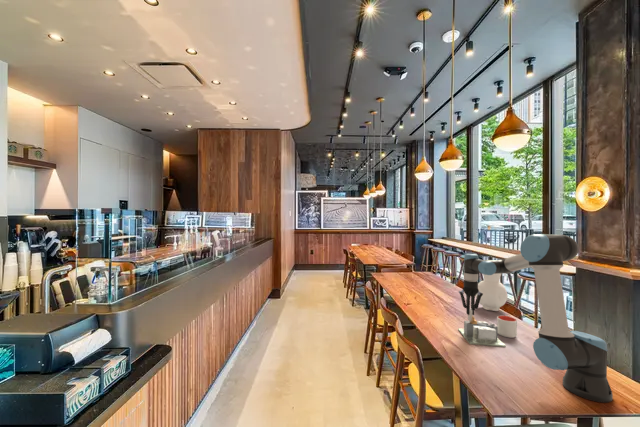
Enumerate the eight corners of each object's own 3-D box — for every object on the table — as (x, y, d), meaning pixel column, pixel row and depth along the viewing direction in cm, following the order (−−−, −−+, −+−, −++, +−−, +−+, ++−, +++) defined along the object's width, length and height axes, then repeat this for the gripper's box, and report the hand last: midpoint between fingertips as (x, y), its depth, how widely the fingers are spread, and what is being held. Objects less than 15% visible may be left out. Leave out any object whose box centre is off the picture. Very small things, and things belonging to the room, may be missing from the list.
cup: (519, 339, 168) (520, 322, 168) (500, 337, 170) (501, 320, 170) (512, 332, 178) (512, 316, 178) (494, 330, 180) (494, 314, 180)
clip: (477, 324, 168) (477, 317, 168) (472, 324, 168) (472, 317, 168) (474, 321, 172) (474, 315, 172) (470, 321, 172) (470, 314, 172)
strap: (495, 328, 167) (495, 327, 167) (474, 325, 169) (474, 323, 169) (493, 327, 169) (493, 325, 169) (472, 323, 171) (473, 321, 171)
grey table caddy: (505, 347, 158) (505, 331, 158) (469, 344, 161) (469, 328, 161) (490, 332, 178) (490, 318, 178) (458, 329, 181) (458, 316, 181)
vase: (512, 311, 217) (513, 272, 217) (492, 315, 209) (493, 273, 209) (489, 304, 235) (490, 267, 235) (470, 307, 227) (471, 268, 227)
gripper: (480, 279, 173) (479, 318, 173) (457, 278, 175) (456, 317, 175) (485, 282, 165) (484, 323, 165) (461, 281, 168) (460, 321, 168)
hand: (470, 320), depth 170 cm, fingers closed
